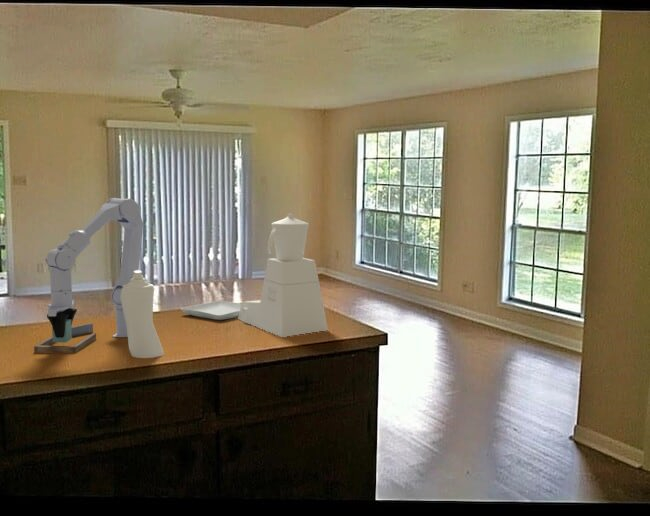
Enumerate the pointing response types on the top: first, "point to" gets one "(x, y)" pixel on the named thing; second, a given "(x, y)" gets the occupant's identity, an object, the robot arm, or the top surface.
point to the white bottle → (140, 317)
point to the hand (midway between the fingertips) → (62, 335)
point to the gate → (82, 329)
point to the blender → (288, 286)
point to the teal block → (66, 335)
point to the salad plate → (214, 310)
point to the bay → (47, 348)
